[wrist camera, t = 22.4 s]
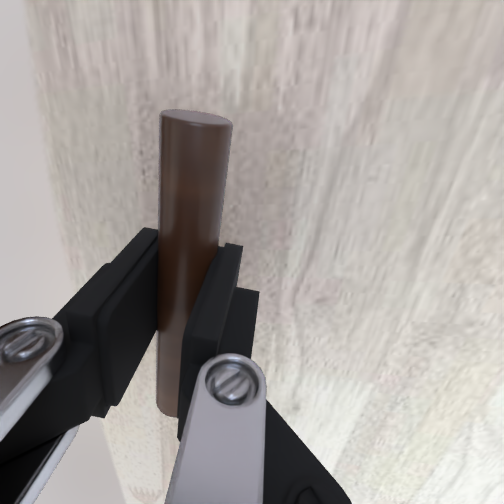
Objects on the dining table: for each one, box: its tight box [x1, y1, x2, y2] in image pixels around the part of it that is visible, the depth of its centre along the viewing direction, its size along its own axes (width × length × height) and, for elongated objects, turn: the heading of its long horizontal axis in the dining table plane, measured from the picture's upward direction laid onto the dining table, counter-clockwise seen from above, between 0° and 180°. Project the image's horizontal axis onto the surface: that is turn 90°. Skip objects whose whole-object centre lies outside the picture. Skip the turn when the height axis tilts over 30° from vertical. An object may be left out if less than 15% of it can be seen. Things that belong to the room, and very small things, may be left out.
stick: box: [156, 109, 233, 417], centre depth 10 cm, size 10×2×2 cm, turn 171°
